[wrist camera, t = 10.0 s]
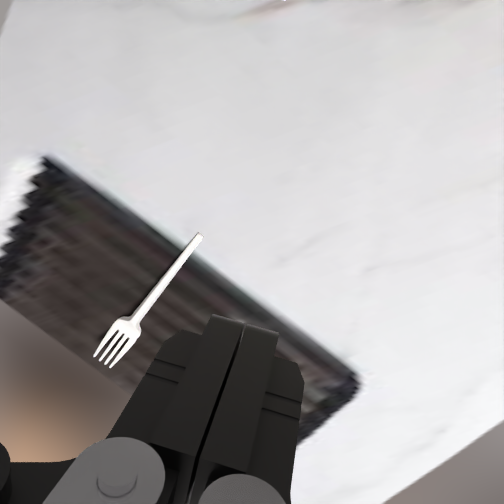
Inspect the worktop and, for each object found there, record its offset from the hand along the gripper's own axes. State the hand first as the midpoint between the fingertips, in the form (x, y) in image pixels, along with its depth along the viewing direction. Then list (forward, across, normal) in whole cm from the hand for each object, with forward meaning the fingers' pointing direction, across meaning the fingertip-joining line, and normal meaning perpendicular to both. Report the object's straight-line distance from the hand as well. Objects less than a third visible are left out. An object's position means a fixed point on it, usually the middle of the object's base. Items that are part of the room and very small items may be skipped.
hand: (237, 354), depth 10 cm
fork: (+32, +12, +22) cm, 40 cm away
